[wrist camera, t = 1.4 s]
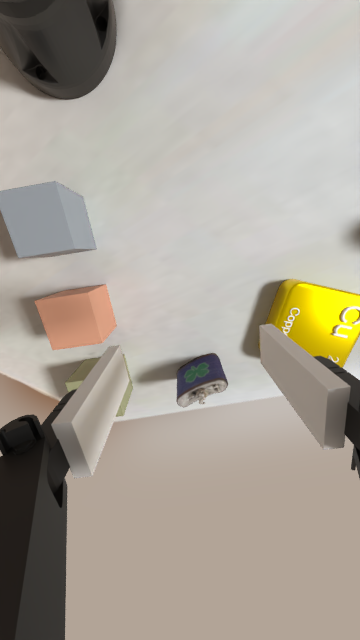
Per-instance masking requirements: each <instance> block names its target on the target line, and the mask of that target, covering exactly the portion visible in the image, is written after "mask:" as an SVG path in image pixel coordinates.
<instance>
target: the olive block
mask: <svg viewBox="0 0 360 640" xmlns="http://www.w3.org/2000/svg"><path fill="white" fill-rule="evenodd" d="M100 358H101V357H100ZM100 358H93V359H86V360H85V361H84V362H83V363H82V364H81V365H80V366H79V367H78V369H77V370H76V371H75V372H74V373H73V374H72V376H71V377H70V378H69V379H68V380H67V381H66V382H65V384H66V387H67V390H68V392H70V391H72V390H74V389H78V388H79V386H80V385H81V384H82V382H83V381H84V380H85V378H86V377H87V376H88V374H89V373H90V372H91V370H92V369H93V367H94V366H95V365H96V363H97V362H98V361H99V359H100ZM123 358H124V362H125V366H126V370H127V373H128V377H129V383H128V386H127V388H126V391H125V393H124V396H123V399H122V401H121V404H120V406H119V409H118V411H117V414H116V417H117V416H124V413H125V410H126V407H127V404H128V401H129V398H130V395H131V392H132V389H133V386H132V382H131V379H130V375H129V371H128V367H127V363H126V359H125V356H124V354H123Z"/></svg>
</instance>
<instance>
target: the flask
mask: <svg viewBox="0 0 360 640" xmlns="http://www.w3.org/2000/svg"><path fill="white" fill-rule="evenodd" d="M227 386H228V382H227V379H226V376H225V374H224V371H223V369H222V365H221V362H220V359H219V358H218V356H217V355H216V354H215V353H211V354H206V355H203V356H200V357H198V358H196V359H194V360H193V361H191V362H189V363H187V364H186V365H184V366H182V367H181V368H180V369H179V370H178V372H177V404H178V405H180V406H182V407H186V406H189V405H190V404H192V403H193V402H195V401H197V400H199V404H205V402H203V400H205V398H206V397H207V396H208V395H211V394H214V393H220V392H222V391H224V390H225V389H226V388H227Z"/></svg>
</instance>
